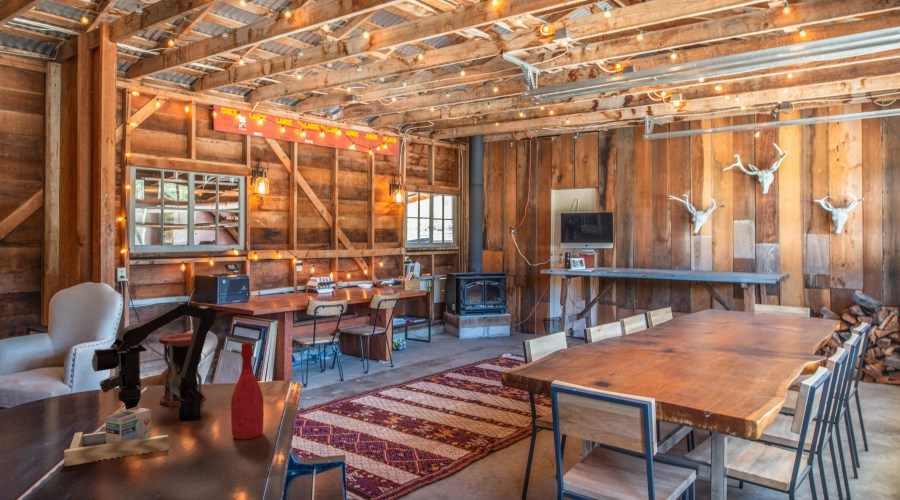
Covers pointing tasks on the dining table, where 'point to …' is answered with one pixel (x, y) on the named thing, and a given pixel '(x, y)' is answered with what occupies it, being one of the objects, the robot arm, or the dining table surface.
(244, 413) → the wine bottle
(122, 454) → the wall board
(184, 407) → the robot arm
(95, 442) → the lip
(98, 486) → the dining table surface
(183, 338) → the hourglass
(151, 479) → the dining table surface
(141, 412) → the light bulb box
